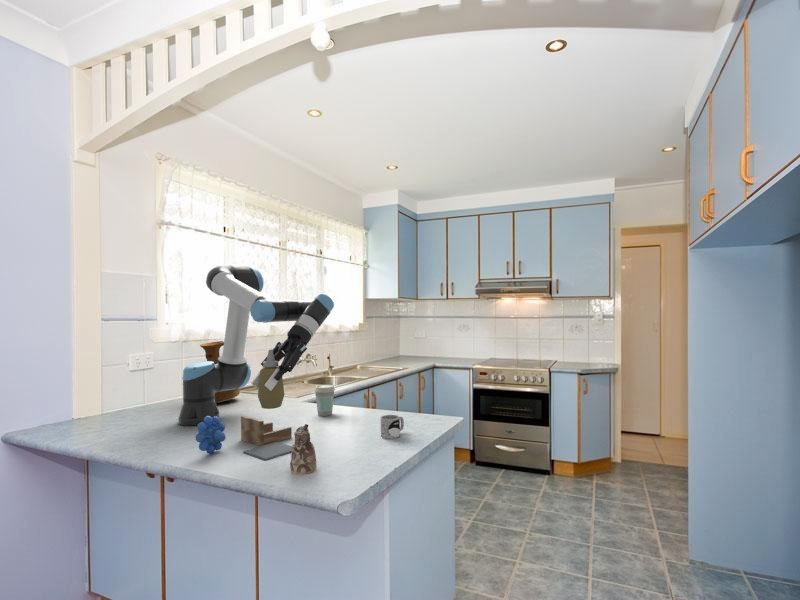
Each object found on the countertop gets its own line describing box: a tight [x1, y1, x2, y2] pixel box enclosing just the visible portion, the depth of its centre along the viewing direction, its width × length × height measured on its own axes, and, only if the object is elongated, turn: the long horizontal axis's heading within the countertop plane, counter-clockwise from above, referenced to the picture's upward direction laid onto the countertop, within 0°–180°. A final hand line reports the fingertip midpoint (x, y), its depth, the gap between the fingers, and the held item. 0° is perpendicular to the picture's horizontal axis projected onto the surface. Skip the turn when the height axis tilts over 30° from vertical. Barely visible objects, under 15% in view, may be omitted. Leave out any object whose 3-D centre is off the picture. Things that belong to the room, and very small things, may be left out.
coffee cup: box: [314, 384, 336, 417], centre depth 184 cm, size 8×8×12 cm
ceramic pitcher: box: [199, 340, 241, 404], centre depth 215 cm, size 20×20×30 cm
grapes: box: [194, 416, 227, 455], centre depth 135 cm, size 12×7×12 cm, turn 160°
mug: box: [380, 414, 405, 440], centre depth 152 cm, size 10×7×7 cm, turn 137°
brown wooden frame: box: [240, 415, 293, 447], centre depth 151 cm, size 12×12×8 cm
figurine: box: [289, 423, 317, 475], centre depth 121 cm, size 7×7×12 cm
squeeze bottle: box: [257, 349, 285, 410], centre depth 137 cm, size 8×8×18 cm
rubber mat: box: [242, 441, 293, 461], centre depth 137 cm, size 12×12×1 cm
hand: (261, 386), depth 134 cm, fingers closed on squeeze bottle, 6 cm apart
